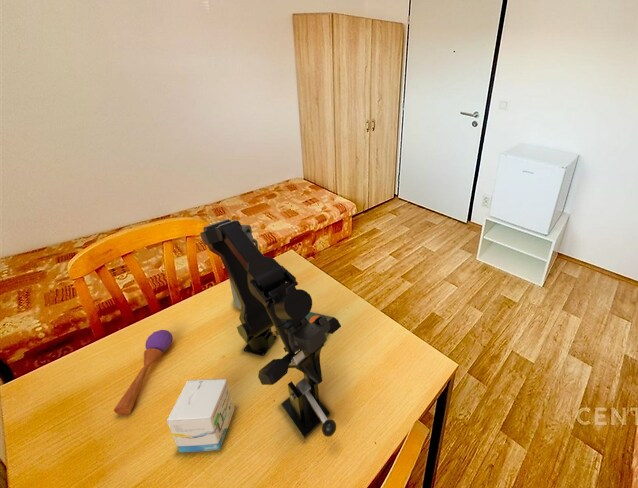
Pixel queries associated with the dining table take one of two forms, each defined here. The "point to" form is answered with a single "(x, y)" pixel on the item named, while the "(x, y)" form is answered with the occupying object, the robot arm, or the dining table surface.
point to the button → (313, 318)
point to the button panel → (315, 315)
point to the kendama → (145, 368)
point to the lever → (316, 408)
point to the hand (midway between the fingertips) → (320, 382)
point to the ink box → (201, 415)
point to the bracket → (303, 408)
